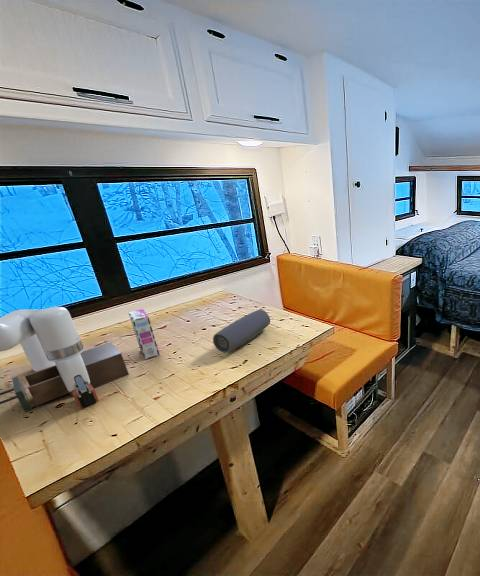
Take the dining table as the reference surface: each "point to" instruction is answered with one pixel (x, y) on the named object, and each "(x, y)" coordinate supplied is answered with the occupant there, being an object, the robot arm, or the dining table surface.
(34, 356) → the cup
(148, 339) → the candy bar box
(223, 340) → the bluetooth speaker
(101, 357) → the cabinet
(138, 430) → the dining table surface
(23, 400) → the drawer
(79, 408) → the block
